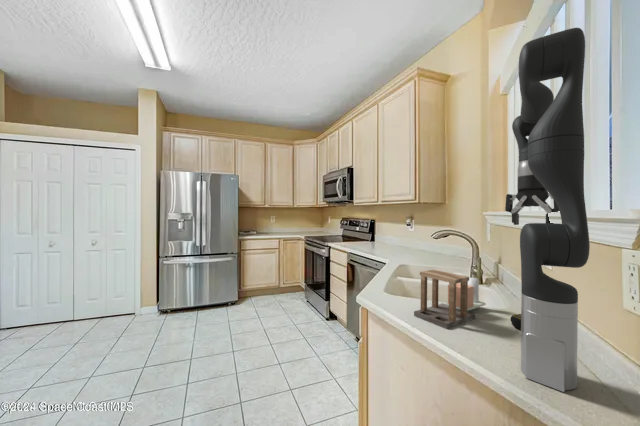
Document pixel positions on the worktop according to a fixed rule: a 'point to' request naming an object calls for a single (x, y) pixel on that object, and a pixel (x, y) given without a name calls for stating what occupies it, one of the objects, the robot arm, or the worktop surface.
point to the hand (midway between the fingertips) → (531, 225)
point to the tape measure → (516, 320)
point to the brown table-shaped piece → (442, 312)
